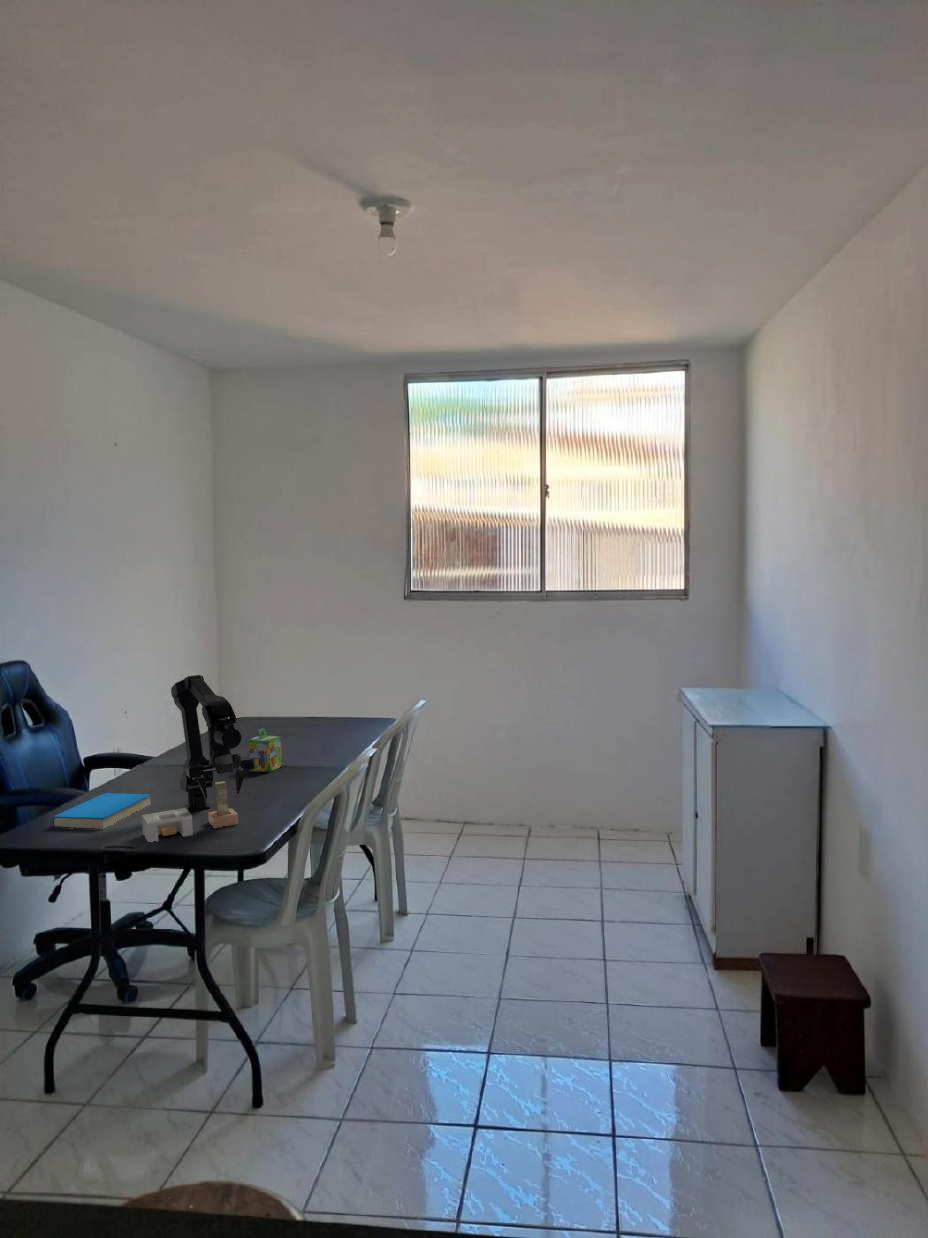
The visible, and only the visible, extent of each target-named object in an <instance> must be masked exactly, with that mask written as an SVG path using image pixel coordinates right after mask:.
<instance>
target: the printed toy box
mask: <svg viewBox="0 0 928 1238" xmlns="http://www.w3.org/2000/svg"><path fill="white" fill-rule="evenodd" d="M262 732H263V735H262ZM257 733H258V735H257V736H255V737H252V738H249V739H247V740H246V745H247V749H246V750H247V756H248V757H250V758H251V759H252V760H254V765H255V768H254V769H250V772H254V773H256V772H262V773H264V772H265V773H271V772H274V771H275V770H278V769H280V767H281V768H283V758H282V757H283V756H282V755H283V754H282V740H281V739H282V736H275V735H267V731H266V728H265V727H262V728H260V729H258V730H257ZM250 772H249V773H250Z"/></svg>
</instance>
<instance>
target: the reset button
mask: <svg viewBox="0 0 928 1238" xmlns="http://www.w3.org/2000/svg"><path fill="white" fill-rule="evenodd" d="M160 828H161V836H163V837H165V836H166V837H167V836H171V835H175V834H177V832H176V828H175V826H174V825H172V826H166V827H160Z"/></svg>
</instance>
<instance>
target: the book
mask: <svg viewBox="0 0 928 1238" xmlns="http://www.w3.org/2000/svg"><path fill="white" fill-rule="evenodd" d="M151 797H152V795H151V793H149V794H147V793H146V794H145V793H144V794H142V793H140V794H139V793H113V792H112V793H111V792H110V793H107V792H104V793H102V794H100V795H98V796H95V797H93V798H92V799H89V800H87V801H85V802H82V803H80V804H78V805H76V806H74V807H72V808H69V809H67V810H65V811H63V812H61V813H58V814H56V815H54V816H53V818H52V819H53V820H52V825H53V827H54V826H63V827H84V828H85V827H86V828H99V829H98V830H101V829H103V830H105V829H107V828H108V827H107V826H109V827H111V826H113V825H115V824H117V823H118V822H117V821H119V820H121V819H122V818H125V819H126V817H127V816H129V817H130V815H131V814H132V813H134V812H136V811H138V812H140V811H142V810H144V809H146V808H147V807H146V806H148V805H150V806H151ZM145 807H146V808H145ZM148 807H149V806H148ZM143 808H144V809H143ZM141 809H142V810H141ZM139 810H140V811H139ZM131 816H132V815H131ZM127 818H128V817H127ZM121 821H122V820H121ZM116 822H117V823H116ZM119 822H120V821H119ZM114 823H115V824H114ZM110 825H111V826H110ZM106 827H107V828H106ZM104 828H105V829H104Z"/></svg>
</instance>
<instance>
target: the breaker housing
mask: <svg viewBox="0 0 928 1238" xmlns="http://www.w3.org/2000/svg"><path fill="white" fill-rule="evenodd" d="M141 819H142V820H141V822H142V835H143V836H145V837H144V838H145V840H146V842H147V841H148V842H151V843H154V842H153V841H156V842H159V841H160V840H159V836H160V835H161V836H162V834H161V828H160V827H166V826H172V825H174V826H175V828H176V833H177V832H179V834H180V835H181V836H182V837H189V836H193V835H194V832H193V831H194V830H193V815H192V814H191V813H190V811H188V810H187V809H186V807H183V808H178V809H171V810H166V811H165V810H164V811H159V812H153V813H147V814H142V815H141ZM148 842H147V843H148Z"/></svg>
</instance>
